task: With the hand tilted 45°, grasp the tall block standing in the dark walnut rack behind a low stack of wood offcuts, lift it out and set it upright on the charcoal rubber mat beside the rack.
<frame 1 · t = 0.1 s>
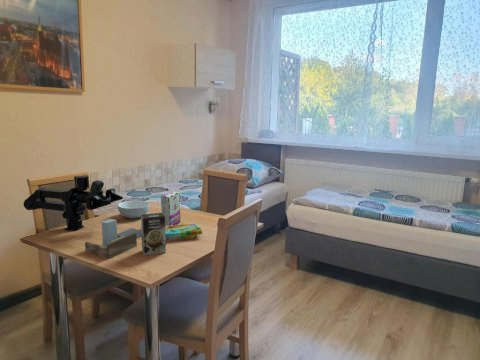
hand: (116, 200, 167), 17 cm above the table, tool horizontal, fingers open, 9 cm apart
puzzle game: (179, 237, 169), on the table
cereal bowl: (134, 216, 198), on the table
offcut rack: (110, 244, 157), on the table
tall block: (110, 244, 157), on the table
candy bar box: (171, 225, 185), on the table
coffee box: (154, 252, 150), on the table
rubber mat: (131, 234, 170), on the table
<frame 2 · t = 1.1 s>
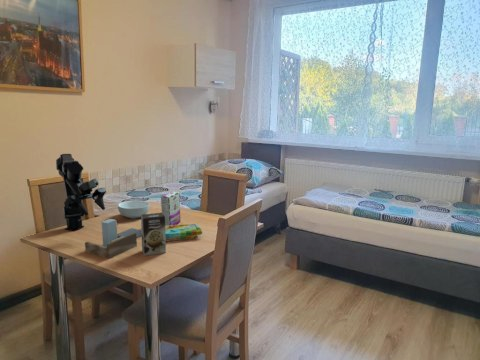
hand: (96, 212, 158), 14 cm above the table, tool tilted 45°, fingers open, 9 cm apart
nothing on the table moved.
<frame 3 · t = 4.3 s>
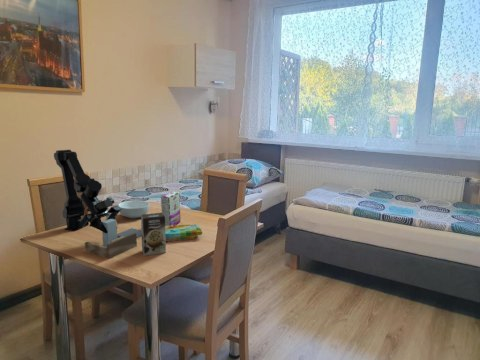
hand: (111, 231, 155), 7 cm above the table, tool tilted 45°, fingers closed on tall block, 5 cm apart
tall block: (110, 244, 157), on the table, touching gripper
everything else where it was.
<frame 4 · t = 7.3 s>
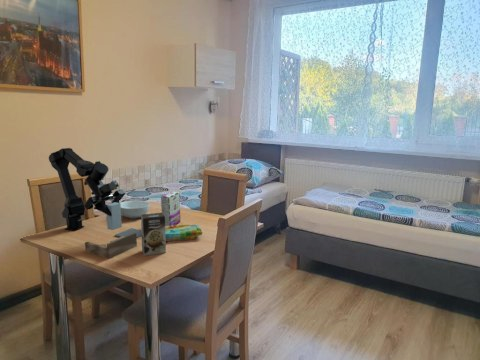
hand: (116, 214, 157), 13 cm above the table, tool tilted 45°, fingers closed on tall block, 5 cm apart
tall block: (114, 227, 159), point 7 cm above the table, touching gripper
everything else where it was.
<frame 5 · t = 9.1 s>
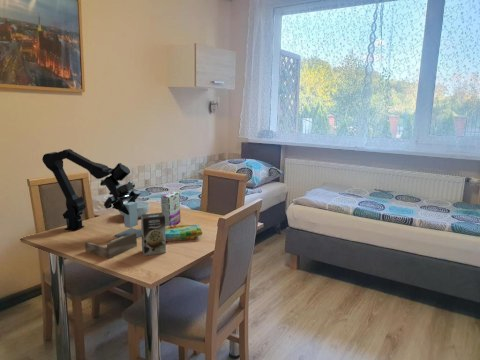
hand: (132, 212, 167), 11 cm above the table, tool tilted 45°, fingers closed on tall block, 5 cm apart
tall block: (131, 225, 169), point 4 cm above the table, touching gripper
everything else where it was.
when the fingers open (9 cm above the table, at t = 10.4 s): tall block drops 1 cm, resting on rubber mat.
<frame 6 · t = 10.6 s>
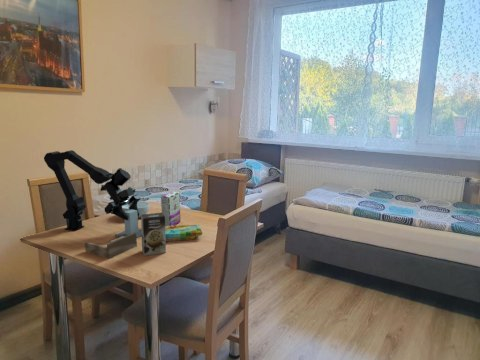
hand: (133, 217, 167), 9 cm above the table, tool tilted 45°, fingers open, 7 cm apart
tall block: (131, 233, 170), point 1 cm above the table, touching rubber mat
everything else where it was.
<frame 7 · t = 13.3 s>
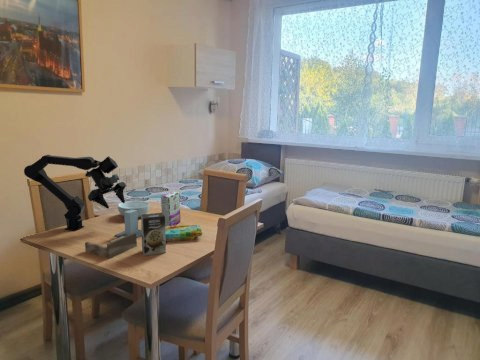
hand: (116, 205, 171), 13 cm above the table, tool tilted 40°, fingers open, 9 cm apart
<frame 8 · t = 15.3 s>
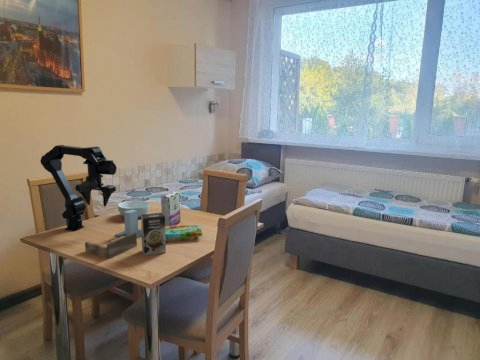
hand: (96, 205, 171), 13 cm above the table, tool pointing down, fingers open, 9 cm apart
at the end: tall block inside the target area on the rubber mat (0.0 cm from its centre), point 0.6 cm above the rubber mat's base; tall block tilted 0°; the gripper is holding nothing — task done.
